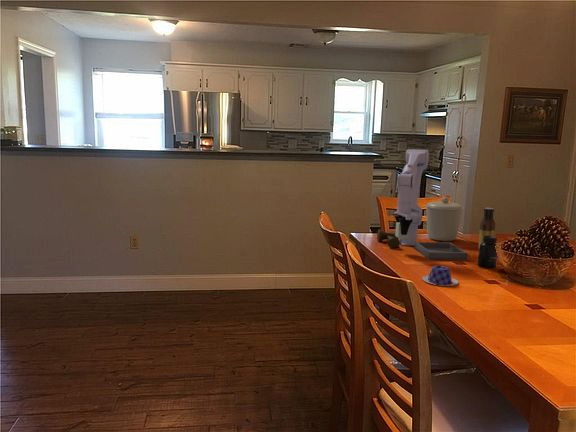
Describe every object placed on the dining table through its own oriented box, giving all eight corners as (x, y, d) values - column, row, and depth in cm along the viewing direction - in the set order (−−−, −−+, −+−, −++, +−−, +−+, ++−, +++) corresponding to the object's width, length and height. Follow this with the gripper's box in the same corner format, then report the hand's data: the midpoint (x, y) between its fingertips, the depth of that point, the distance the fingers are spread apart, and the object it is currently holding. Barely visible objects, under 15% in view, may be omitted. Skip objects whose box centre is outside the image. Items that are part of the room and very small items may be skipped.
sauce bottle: (490, 251, 203) (495, 207, 199) (495, 254, 197) (500, 209, 193) (475, 250, 203) (480, 206, 200) (479, 254, 197) (484, 208, 194)
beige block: (395, 235, 197) (396, 222, 196) (405, 235, 197) (406, 222, 196) (398, 237, 193) (399, 224, 191) (408, 238, 193) (409, 224, 192)
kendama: (382, 249, 203) (374, 238, 222) (404, 250, 203) (394, 239, 222) (383, 236, 201) (376, 226, 221) (405, 237, 201) (395, 227, 221)
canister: (416, 239, 222) (420, 196, 219) (430, 233, 237) (433, 193, 233) (454, 245, 212) (458, 200, 208) (465, 239, 226) (470, 197, 222)
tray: (414, 248, 203) (415, 242, 203) (449, 249, 204) (450, 242, 204) (428, 259, 186) (429, 252, 185) (466, 260, 187) (467, 253, 186)
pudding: (424, 274, 166) (425, 261, 165) (459, 280, 161) (460, 265, 160) (419, 284, 155) (420, 269, 154) (456, 290, 150) (458, 274, 149)
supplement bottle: (493, 270, 173) (497, 239, 171) (475, 266, 177) (478, 236, 175) (498, 266, 179) (501, 236, 176) (480, 263, 183) (483, 234, 180)
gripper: (390, 199, 199) (388, 229, 201) (400, 204, 185) (397, 237, 187) (406, 199, 199) (404, 229, 202) (417, 204, 185) (414, 237, 188)
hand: (402, 233), depth 195 cm, fingers closed on beige block, 4 cm apart
